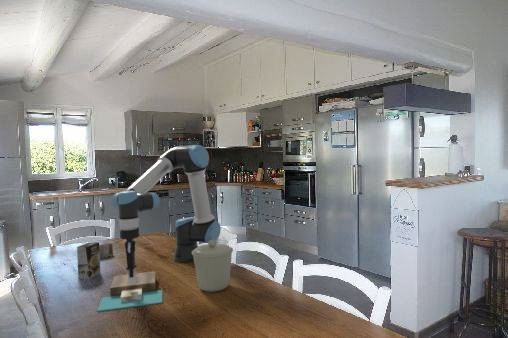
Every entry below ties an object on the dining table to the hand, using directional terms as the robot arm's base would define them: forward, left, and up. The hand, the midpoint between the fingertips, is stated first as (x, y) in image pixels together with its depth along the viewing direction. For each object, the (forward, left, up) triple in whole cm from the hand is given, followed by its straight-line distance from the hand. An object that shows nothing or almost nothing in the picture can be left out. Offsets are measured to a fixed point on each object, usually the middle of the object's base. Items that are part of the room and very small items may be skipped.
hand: (132, 284), depth 148 cm
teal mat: (0, +5, -5) cm, 7 cm away
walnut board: (0, -10, -5) cm, 11 cm away
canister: (-34, +2, -6) cm, 34 cm away
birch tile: (0, +2, -5) cm, 5 cm away
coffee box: (+23, -35, -6) cm, 42 cm away
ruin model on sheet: (+22, -70, -6) cm, 73 cm away
